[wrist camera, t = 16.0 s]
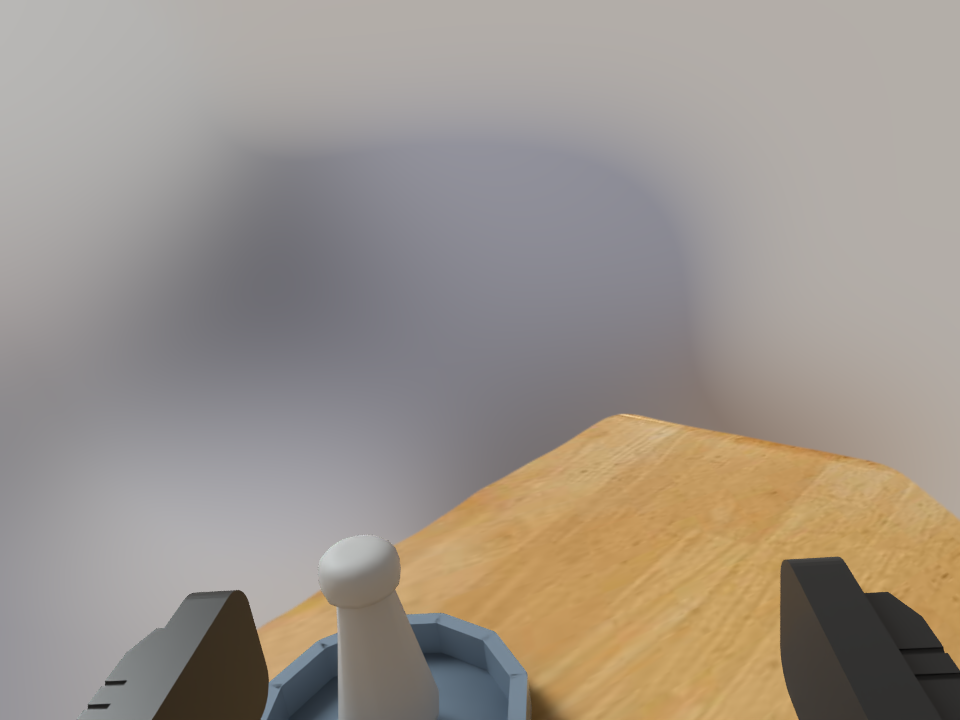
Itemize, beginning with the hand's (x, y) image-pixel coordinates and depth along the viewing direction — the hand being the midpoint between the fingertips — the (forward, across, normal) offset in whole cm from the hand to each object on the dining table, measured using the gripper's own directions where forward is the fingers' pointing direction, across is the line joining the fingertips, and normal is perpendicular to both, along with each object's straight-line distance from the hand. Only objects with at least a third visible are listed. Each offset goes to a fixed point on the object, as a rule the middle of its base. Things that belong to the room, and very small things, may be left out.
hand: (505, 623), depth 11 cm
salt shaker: (+24, +11, +27) cm, 38 cm away
